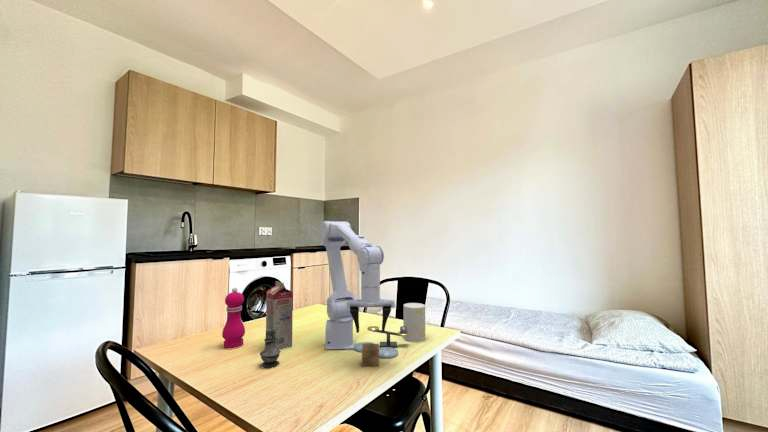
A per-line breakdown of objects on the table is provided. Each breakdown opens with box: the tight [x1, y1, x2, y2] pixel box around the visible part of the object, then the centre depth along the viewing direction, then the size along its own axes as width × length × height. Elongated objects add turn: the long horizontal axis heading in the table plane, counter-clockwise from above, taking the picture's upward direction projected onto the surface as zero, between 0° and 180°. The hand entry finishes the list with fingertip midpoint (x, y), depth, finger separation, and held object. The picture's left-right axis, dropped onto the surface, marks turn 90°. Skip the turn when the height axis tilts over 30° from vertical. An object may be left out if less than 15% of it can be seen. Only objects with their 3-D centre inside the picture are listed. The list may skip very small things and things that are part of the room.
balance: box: [367, 325, 409, 349], centre depth 108 cm, size 15×4×6 cm, turn 92°
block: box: [361, 343, 380, 368], centre depth 94 cm, size 5×5×5 cm
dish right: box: [379, 347, 399, 359], centre depth 101 cm, size 8×8×1 cm
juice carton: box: [265, 281, 294, 350], centre depth 109 cm, size 7×7×22 cm
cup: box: [402, 302, 426, 343], centre depth 117 cm, size 8×8×12 cm
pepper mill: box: [221, 287, 246, 349], centre depth 109 cm, size 7×7×20 cm
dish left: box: [353, 341, 375, 354], centre depth 106 cm, size 8×8×1 cm
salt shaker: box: [259, 324, 282, 369], centre depth 93 cm, size 6×6×12 cm
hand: (370, 331), depth 94 cm, fingers open, 7 cm apart
